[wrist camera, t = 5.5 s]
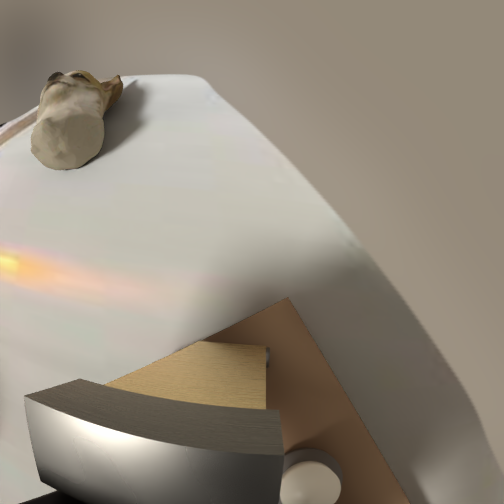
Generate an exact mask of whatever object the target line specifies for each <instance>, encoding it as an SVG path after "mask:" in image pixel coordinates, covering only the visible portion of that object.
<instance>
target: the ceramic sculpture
mask: <svg viewBox="0 0 504 504" xmlns="http://www.w3.org/2000/svg"><path fill="white" fill-rule="evenodd" d="M122 90H123V83H122V81H121V79H120V76H119V75H117V76H116V77H114V78H113V79H112V80H111V81H108V82H103V83H100V82H99V81H97V80H96V79H95V78H94V77H93V76H92V75H91V74H90V73H88V72H85V71H79V70H78V71H77V70H76V71H72V72H70V73H67V74H65V75H63V74H62V73H61V72H56V73H54V74H52V76H50V77H49V79H48V81H47V84H46V86H45V87H44V89H43V91H42V93H41V98H40V104H39V108H38V113H37V125H36V126H35V127H34V129H33V133H32V135H31V146H32V147H31V152H32V153H33V154H34V156H35V157H36V158H37V159H38V160H39V161H40V162H41V163H42V164H43V165H44V166H46V167H48V168H51V169H54V170H64V169H75V168H78V167H81V166H82V165H83V164H85V163H86V162H87V161H88V160H90V159H91V158H93V157H94V156H96V155H97V154H98V153H99V151H100V149H101V147H102V144H103V139H104V121H103V119H102V117H103V114H104V112H105V111H106V110H108V109H109V108H110V107H111V106H112V105H113V104H114V103H115V102H116V101H117V100H118V98H119V97H120V95H121V93H122Z"/></svg>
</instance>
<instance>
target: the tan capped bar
mask: <svg viewBox="0 0 504 504" xmlns="http://www.w3.org/2000/svg"><path fill="white" fill-rule="evenodd" d="M269 359H270V347H266V346H259V345H242V344H228V343H216V342H205V341H198V342H195V343H194V344H192V345H190V346H188V347H186V348H184V349H181V350H179V351H177V352H175V353H173V354H171V355H169V356H167V357H165V358H162V359H160V360H158V361H156V362H154V363H152V364H149V365H147V366H145V367H143V368H141V369H138V370H136V371H134V372H132V373H130V374H127V375H125V376H123V377H120V378H118V379H116V380H114V381H111V382H109V383H107V384H104V385H101V384H97V383H94V382H90V381H86V380H83V379H77V380H74V381H71V382H68V383H65V384H62V385H58V386H55V387H52V388H49V389H45V390H42V391H39V392H35V393H32V394H28V395H25V396H24V401H25V409H26V416H27V422H28V428H29V434H30V439H31V444H32V448H33V453H34V457H35V461H36V465H37V469H38V473H39V476H40V480H41V482H43V483H45V484H47V485H49V486H51V487H52V488H54V489H56V490H58V491H60V492H62V493H64V494H66V495H69V496H71V497H73V498H75V499H77V500H79V501H82V502H84V503H86V504H279V497H280V489H281V482H282V474H283V466H284V457H285V453H284V445H283V437H282V429H281V421H280V413H279V410H269V409H266V368H269Z"/></svg>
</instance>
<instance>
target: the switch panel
mask: <svg viewBox="0 0 504 504" xmlns="http://www.w3.org/2000/svg"><path fill="white" fill-rule="evenodd" d="M201 341H205V342H216V343H228V344H242V345H259V346H266V347H270V359H269V368H266V409H269V410H279V413H280V421H281V429H282V437H283V445H284V453H285V457H284V466H283V474H284V472H285V471H286V470H287V469H288V468H290V467H291V466H293V465H295V464H297V463H300V462H304V461H316V462H320V463H323V464H324V465H326V466H327V467H329V468H330V469H331V470H332V471H333V472H334V473H335V474H336V475H337V477H338V478H339V480H340V484H341V491H340V495H339V497H338V499H337V501H336V502H335V503H334V504H410V502H409V500H408V499H407V497H406V495H405V493H404V492H403V490H402V488H401V487H400V485H399V483H398V481H397V480H396V478H395V476H394V474H393V473H392V471H391V469H390V468H389V466H388V464H387V463H386V461H385V459H384V457H383V456H382V454H381V452H380V451H379V449H378V447H377V445H376V444H375V442H374V440H373V439H372V437H371V435H370V434H369V432H368V430H367V429H366V427H365V425H364V423H363V422H362V420H361V418H360V417H359V415H358V413H357V412H356V410H355V408H354V407H353V405H352V403H351V402H350V400H349V398H348V396H347V395H346V393H345V391H344V390H343V388H342V386H341V385H340V383H339V381H338V380H337V378H336V376H335V375H334V373H333V371H332V370H331V368H330V366H329V365H328V363H327V361H326V360H325V358H324V356H323V355H322V353H321V351H320V350H319V348H318V346H317V345H316V343H315V341H314V340H313V338H312V336H311V335H310V333H309V331H308V330H307V328H306V326H305V325H304V323H303V321H302V320H301V318H300V316H299V315H298V313H297V311H296V310H295V308H294V306H293V305H292V303H291V301H290V300H289V298H288V297H287V298H285V299H283V300H281V301H280V302H278V303H276V304H274V305H272V306H270V307H268V308H266V309H264V310H262V311H260V312H258V313H256V314H254V315H252V316H250V317H248V318H246V319H244V320H242V321H240V322H238V323H236V324H234V325H232V326H230V327H228V328H226V329H224V330H222V331H220V332H218V333H216V334H214V335H212V336H210V337H208V338H206V339H203V340H201ZM164 358H165V357H164ZM155 362H156V361H155ZM153 363H154V362H153ZM283 474H282V475H283ZM279 504H282V501H281V498H280V497H279Z"/></svg>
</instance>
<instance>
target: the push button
mask: <svg viewBox="0 0 504 504" xmlns="http://www.w3.org/2000/svg"><path fill="white" fill-rule="evenodd" d="M340 491H341V484H340V480H339V478H338V477H337V475H336V474H335V473H334V472H333V471H332V470H331V469H330V468H329V467H327V466H326V465H324V464H323V463H320V462H316V461H304V462H300V463H297V464H295V465H293V466H291V467H290V468H288V469H287V470H286V471H285V472H284V474H283V475H282V482H281V489H280V498H281V501H282V504H334V503H335V502H336V501H337V499H338V497H339V495H340Z"/></svg>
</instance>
